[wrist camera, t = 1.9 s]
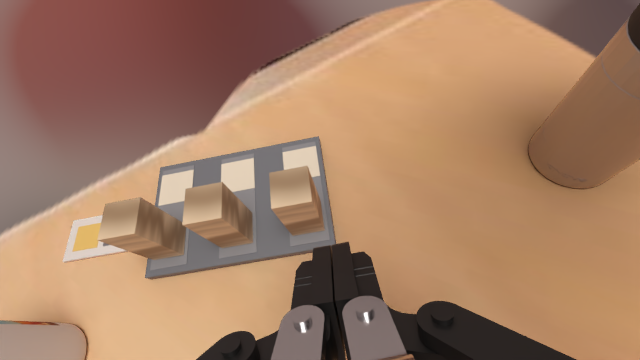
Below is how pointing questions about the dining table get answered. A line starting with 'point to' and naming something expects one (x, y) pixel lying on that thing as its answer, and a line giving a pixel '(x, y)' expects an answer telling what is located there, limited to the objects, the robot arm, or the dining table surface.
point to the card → (87, 241)
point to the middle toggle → (217, 215)
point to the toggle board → (254, 192)
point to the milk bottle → (41, 341)
